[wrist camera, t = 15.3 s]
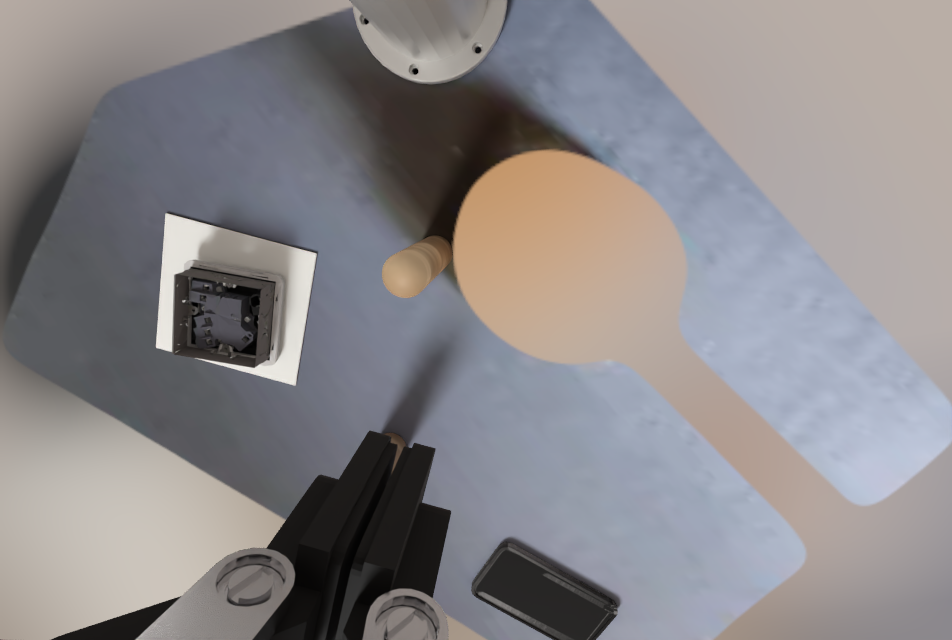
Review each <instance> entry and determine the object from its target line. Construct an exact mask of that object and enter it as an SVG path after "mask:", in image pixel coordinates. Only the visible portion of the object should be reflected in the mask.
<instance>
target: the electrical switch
mask: <svg viewBox="0 0 952 640" xmlns="http://www.w3.org/2000/svg"><path fill="white" fill-rule="evenodd" d="M177 285H178V286H177ZM284 290H285V280H284V278H283V277H282V276H281V275H280V274H274V273H269V272H263V271H258V270H252V269H246V268H241V267H235V266H229V265H224V264H218V263H213V262H207V261H201V260H196V259H195V260H189V261H187V262H186V263H185V264H184V272H182V273H178V274H174V293H173V329H172V354H174V355H180V356H186V357H192V358H198V359H204V360H210V361H216V362H222V363H227V364H233V365H239V366H245V367H251V368H255V367H257V366H258V365H262V366H272V365H274V364H275V363H276V361H277V360H278V359H279V347H280V336H281V324H282V313H283V301H284ZM259 298H260V300H259ZM182 301H183V302H182ZM178 344H179V345H178ZM177 351H178V352H177ZM175 352H176V353H175Z"/></svg>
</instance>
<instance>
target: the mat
mask: <svg viewBox="0 0 952 640" xmlns="http://www.w3.org/2000/svg"><path fill="white" fill-rule="evenodd" d="M316 258H317V253H313V252H310V251H306V250H302V249H298V248H295V247H291V246H287V245H284V244H280V243H276V242H272V241H269V240H265V239H261V238H257V237H254V236H250V235H246V234H242V233H239V232H235V231H231V230H228V229H224V228H220V227H216V226H213V225H209V224H205V223H201V222H198V221H194V220H190V219H186V218H183V217H179V216H175V215H172V214H168V213H166V216H165V230H164V244H163V258H162V272H161V285H160V299H159V313H158V327H157V340H156V348H160V349H163V350H167V351H171V352H172V329H173V293H174V274H178V273H182V272H184V264H185V263H186V262H187V261H189V260H195V259H196V260H201V261H207V262H213V263H218V264H224V265H229V266H235V267H241V268H246V269H252V270H258V271H263V272H269V273H274V274H280V275H281V276H282V277H283V278H284V280H285V290H284V301H283V313H282V324H281V336H280V347H279V359H278V360H277V361H276V363H275V364H274V365H272V366H262V365H258V366H257V367H255V368H251V367H245V366H239V365H233V364H227V363H222V362H216V361H210V360H204V359H200V360H203V361H207V362H211V363H214V364H218V365H222V366H225V367H229V368H233V369H236V370H240V371H244V372H247V373H251V374H255V375H258V376H262V377H266V378H269V379H273V380H277V381H280V382H284V383H288V384H291V385H296V382H297V375H298V369H299V363H300V357H301V351H302V344H303V338H304V332H305V326H306V320H307V313H308V307H309V301H310V295H311V289H312V282H313V276H314V270H315V264H316ZM177 286H178V285H177ZM259 300H260V298H259ZM182 302H183V301H182ZM178 345H179V344H178ZM177 352H178V351H177ZM175 353H176V352H175ZM196 359H198V358H196Z"/></svg>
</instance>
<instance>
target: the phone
mask: <svg viewBox="0 0 952 640" xmlns="http://www.w3.org/2000/svg"><path fill="white" fill-rule="evenodd" d="M495 551H496V552H495ZM495 551H494V553H493V554H492V555H491V557H490V558H489V560H488V561H487V562H486V564H485V565H484V566H483V568H482V569H481V570H480V572H479V573H478V575H477V576H476V577H475V579H474V580H473V582H472V589H471V591H472V594H473V595H474V596H475V597H476V598H478V599H480V600H482V601H484V602H486V603H487V604H489V605H491V606H493V607H495V608H496V609H498V610H500V611H502V612H504V613H506V614H507V615H509V616H511V617H513V618H515V619H517V620H518V621H520V622H522V623H524V624H526V625H527V626H529V627H531V628H533V629H535V630H537V631H538V632H540V633H542V634H544V635H546V636H548V637H549V638H551V639H553V640H596V639H597V638H598V637H599V635H600V634H601V633H602V632H603V631H604V630H605V629H606V627H607V626H608V625H609V624H610V623H611V622H612V620H613V619H614V618H615V617H616V616H617V613H618V611H617V606H616V603H615V601H614V600H612V599H611V598H609V597H607V596H605V595H604V594H602V593H600V592H598V591H596V590H595V589H593V588H591V587H589V586H588V585H586V584H584V583H582V582H580V581H578V580H577V579H575V578H573V577H571V576H570V575H568V574H566V573H564V572H562V571H561V570H559V569H557V568H555V567H553V566H552V565H550V564H548V563H546V562H545V561H543V560H541V559H539V558H537V557H536V556H534V555H532V554H530V553H528V552H527V551H525V550H523V549H521V548H519V547H518V546H516V545H514V544H512V543H508V542H505V543H502V544H500V545H499V546H498V547H497V549H496V550H495Z"/></svg>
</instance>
